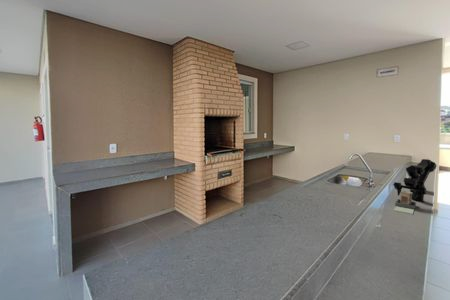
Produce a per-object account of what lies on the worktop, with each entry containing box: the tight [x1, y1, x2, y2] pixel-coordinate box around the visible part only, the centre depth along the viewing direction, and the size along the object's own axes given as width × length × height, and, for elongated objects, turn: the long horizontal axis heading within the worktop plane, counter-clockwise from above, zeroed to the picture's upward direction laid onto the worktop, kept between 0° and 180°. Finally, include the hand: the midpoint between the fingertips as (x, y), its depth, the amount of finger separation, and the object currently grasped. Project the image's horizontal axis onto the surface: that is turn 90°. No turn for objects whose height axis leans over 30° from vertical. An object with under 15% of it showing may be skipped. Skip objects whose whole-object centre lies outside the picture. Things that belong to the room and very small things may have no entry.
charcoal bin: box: [394, 198, 417, 211], centre depth 161 cm, size 11×11×3 cm
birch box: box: [400, 190, 413, 205], centre depth 161 cm, size 5×5×10 cm
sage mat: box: [393, 206, 415, 215], centre depth 153 cm, size 10×10×1 cm
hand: (405, 197), depth 160 cm, fingers open, 9 cm apart
